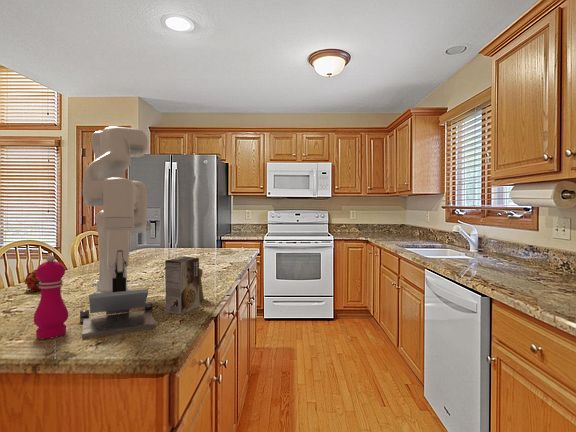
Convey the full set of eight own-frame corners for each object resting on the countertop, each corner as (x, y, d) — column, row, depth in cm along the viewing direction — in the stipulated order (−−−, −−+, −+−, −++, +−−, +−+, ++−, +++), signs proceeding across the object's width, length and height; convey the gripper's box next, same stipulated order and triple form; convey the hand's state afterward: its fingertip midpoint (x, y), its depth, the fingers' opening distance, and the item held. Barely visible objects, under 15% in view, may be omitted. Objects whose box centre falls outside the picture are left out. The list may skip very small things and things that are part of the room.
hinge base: (80, 320, 99) (80, 309, 99) (151, 311, 108) (151, 301, 108) (77, 339, 85) (77, 327, 85) (159, 327, 94) (159, 316, 94)
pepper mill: (45, 330, 91) (44, 253, 91) (74, 329, 92) (73, 253, 92) (26, 340, 84) (25, 257, 84) (58, 339, 85) (57, 257, 84)
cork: (199, 302, 119) (199, 270, 119) (182, 301, 120) (182, 269, 120) (206, 297, 125) (206, 267, 125) (191, 297, 126) (191, 266, 126)
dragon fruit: (42, 290, 143) (40, 300, 133) (20, 280, 139) (17, 290, 129) (56, 272, 145) (55, 282, 135) (35, 262, 140) (33, 271, 130)
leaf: (90, 317, 100) (90, 310, 101) (143, 311, 106) (142, 304, 107) (89, 299, 88) (89, 292, 89) (148, 293, 95) (147, 286, 96)
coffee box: (184, 304, 116) (183, 256, 115) (200, 307, 113) (200, 257, 113) (164, 312, 107) (164, 259, 107) (181, 314, 105) (181, 261, 105)
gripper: (102, 224, 99) (103, 289, 99) (103, 225, 86) (103, 300, 86) (131, 223, 102) (132, 286, 102) (136, 224, 89) (137, 296, 89)
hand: (119, 292), depth 94 cm, fingers closed
